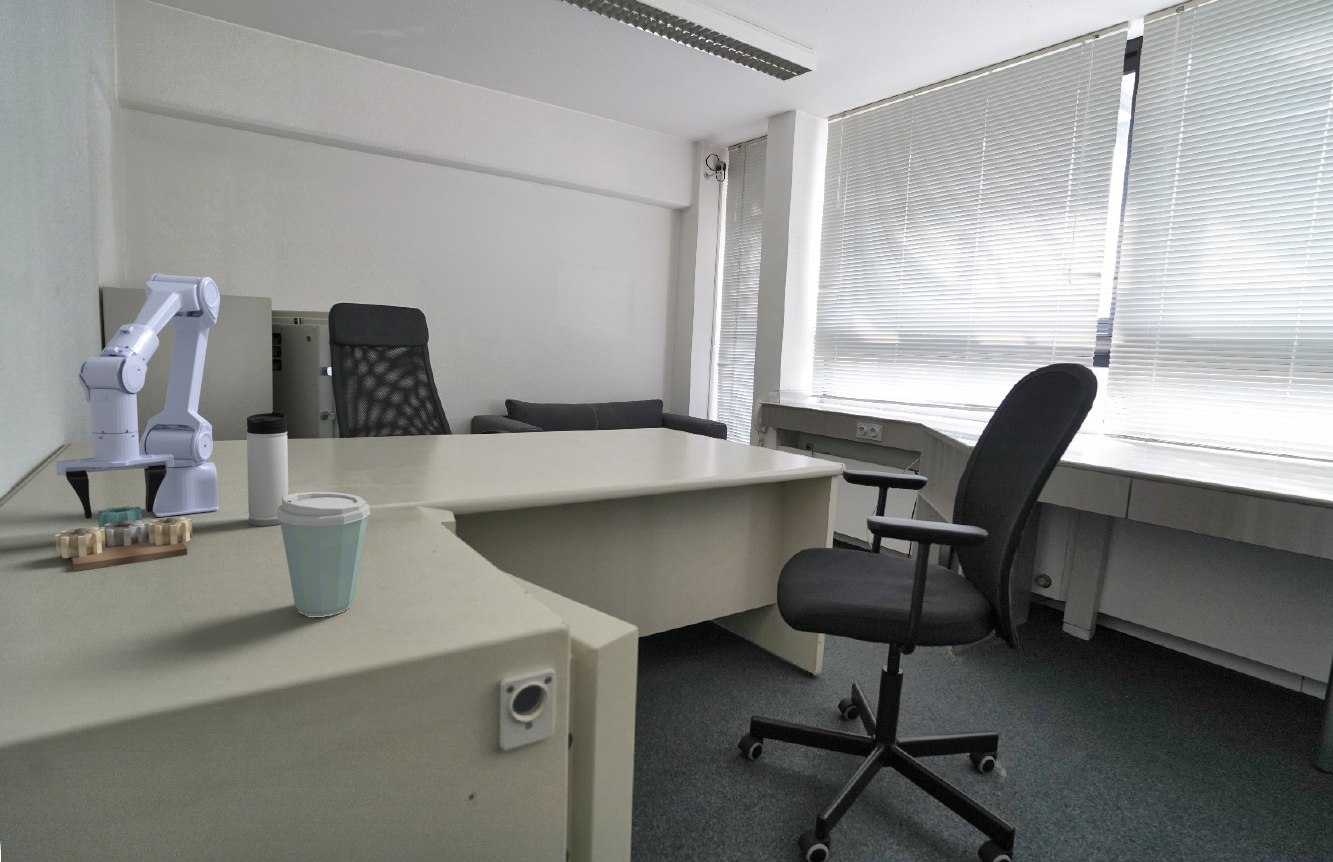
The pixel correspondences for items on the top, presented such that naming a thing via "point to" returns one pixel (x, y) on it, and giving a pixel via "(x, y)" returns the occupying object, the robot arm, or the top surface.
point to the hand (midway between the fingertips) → (119, 513)
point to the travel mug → (266, 466)
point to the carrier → (124, 542)
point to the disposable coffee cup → (323, 548)
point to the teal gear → (119, 515)
